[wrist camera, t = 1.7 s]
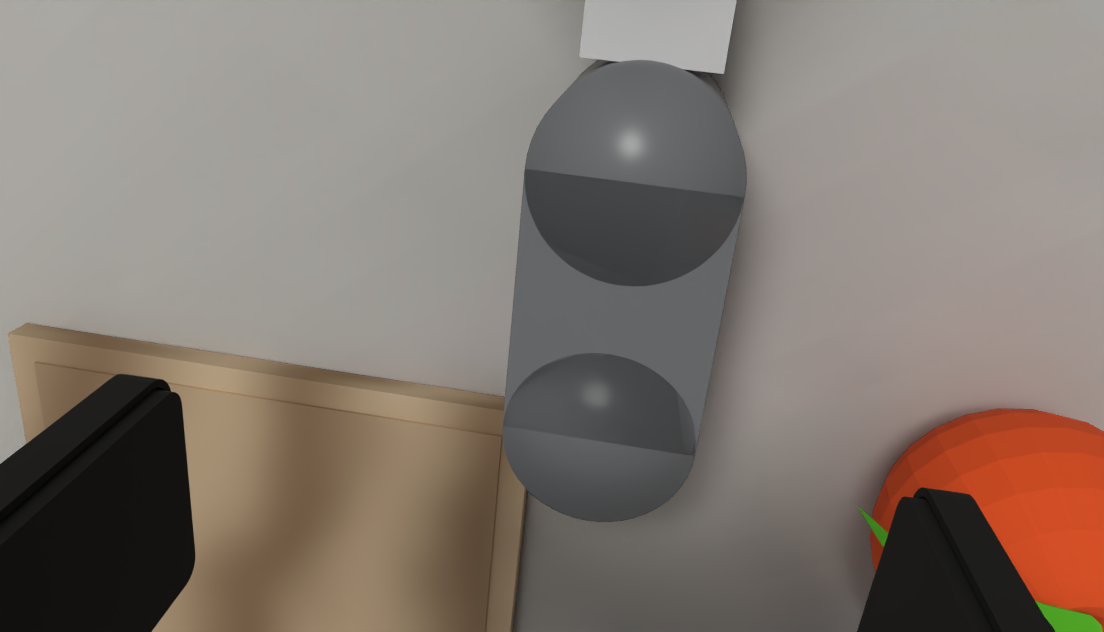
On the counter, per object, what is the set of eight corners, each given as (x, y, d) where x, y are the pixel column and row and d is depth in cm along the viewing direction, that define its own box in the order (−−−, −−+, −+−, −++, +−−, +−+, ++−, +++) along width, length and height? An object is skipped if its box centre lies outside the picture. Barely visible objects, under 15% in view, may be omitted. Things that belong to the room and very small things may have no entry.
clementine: (771, 510, 25) (805, 701, 18) (886, 309, 22) (975, 451, 16) (1021, 605, 25) (1143, 830, 18) (1167, 417, 22) (1372, 604, 16)
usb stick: (679, 429, 24) (679, 535, 20) (529, 405, 25) (495, 505, 20) (765, -47, 19) (792, -51, 15) (576, -67, 20) (546, -77, 15)
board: (536, 401, 25) (531, 417, 24) (501, 744, 30) (495, 766, 29) (26, 323, 26) (5, 335, 25) (81, 664, 31) (65, 683, 31)
